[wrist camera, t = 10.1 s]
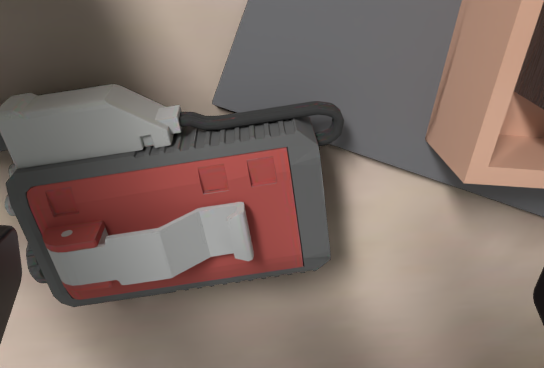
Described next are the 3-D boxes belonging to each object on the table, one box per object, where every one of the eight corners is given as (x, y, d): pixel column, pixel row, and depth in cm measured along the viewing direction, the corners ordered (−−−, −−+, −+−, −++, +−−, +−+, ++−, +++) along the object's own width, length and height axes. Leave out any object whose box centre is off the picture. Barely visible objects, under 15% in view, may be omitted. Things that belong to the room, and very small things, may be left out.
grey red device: (332, 41, 19) (-188, 122, 20) (355, 79, 16) (-290, 179, 16) (347, 231, 24) (-79, 294, 24) (369, 297, 20) (-137, 371, 20)
